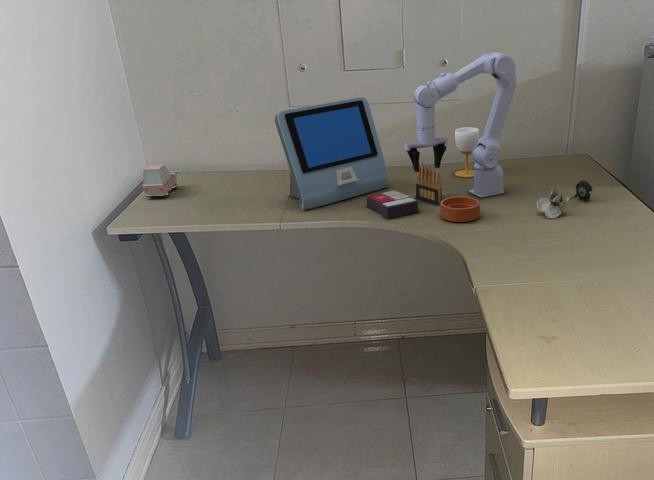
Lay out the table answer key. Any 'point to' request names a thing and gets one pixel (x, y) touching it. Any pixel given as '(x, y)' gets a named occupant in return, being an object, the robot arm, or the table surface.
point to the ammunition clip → (428, 185)
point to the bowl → (460, 209)
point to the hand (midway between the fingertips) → (426, 169)
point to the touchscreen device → (331, 152)
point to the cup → (466, 146)
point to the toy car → (158, 180)
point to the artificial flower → (553, 206)
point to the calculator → (392, 204)
